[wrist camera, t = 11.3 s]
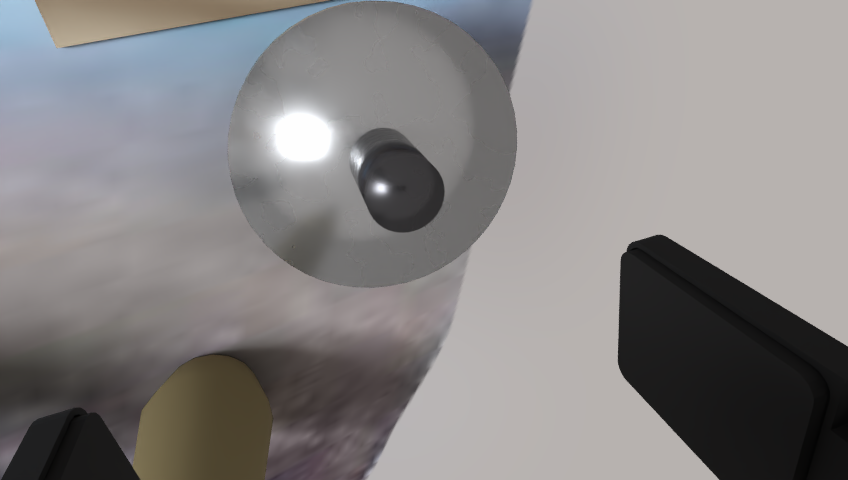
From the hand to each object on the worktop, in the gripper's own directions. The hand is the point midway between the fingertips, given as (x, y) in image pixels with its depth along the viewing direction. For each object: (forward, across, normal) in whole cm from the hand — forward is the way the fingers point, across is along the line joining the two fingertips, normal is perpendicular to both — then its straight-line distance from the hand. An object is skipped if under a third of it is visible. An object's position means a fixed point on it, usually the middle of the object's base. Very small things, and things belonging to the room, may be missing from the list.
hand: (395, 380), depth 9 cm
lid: (+18, -3, +2) cm, 18 cm away
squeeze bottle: (+24, +11, +17) cm, 32 cm away
